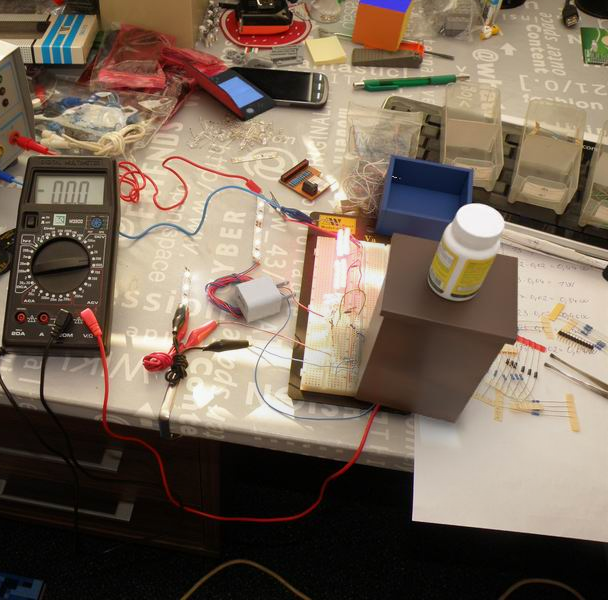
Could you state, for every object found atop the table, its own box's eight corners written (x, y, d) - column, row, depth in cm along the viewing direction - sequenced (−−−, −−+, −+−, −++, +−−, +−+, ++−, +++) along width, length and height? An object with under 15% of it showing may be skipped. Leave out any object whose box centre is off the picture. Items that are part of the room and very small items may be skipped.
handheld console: (279, 109, 108) (283, 68, 102) (226, 135, 104) (227, 94, 98) (231, 72, 114) (232, 32, 108) (179, 96, 110) (177, 55, 104)
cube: (405, 33, 121) (416, -10, 115) (394, 56, 117) (405, 12, 110) (363, 23, 123) (371, -20, 117) (350, 45, 119) (358, 2, 112)
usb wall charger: (234, 302, 84) (235, 282, 81) (283, 286, 85) (286, 266, 82) (247, 326, 82) (248, 307, 78) (298, 309, 83) (301, 289, 80)
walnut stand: (462, 357, 79) (518, 257, 65) (457, 431, 73) (517, 339, 59) (360, 334, 81) (393, 232, 67) (348, 404, 75) (381, 309, 61)
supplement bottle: (485, 276, 63) (518, 213, 56) (468, 310, 61) (500, 248, 54) (436, 256, 65) (463, 192, 58) (418, 288, 62) (443, 225, 56)
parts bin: (462, 197, 95) (474, 169, 91) (457, 254, 89) (470, 226, 84) (383, 182, 97) (391, 154, 93) (373, 237, 91) (381, 209, 86)
